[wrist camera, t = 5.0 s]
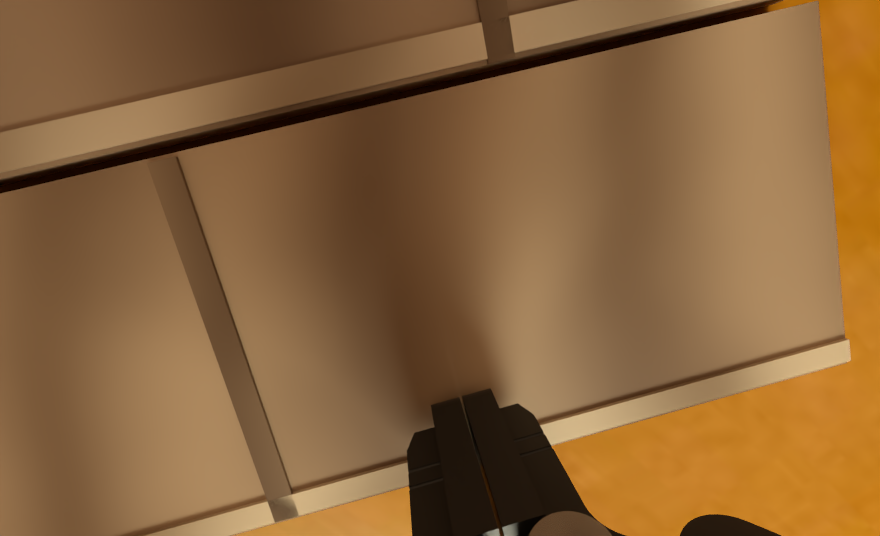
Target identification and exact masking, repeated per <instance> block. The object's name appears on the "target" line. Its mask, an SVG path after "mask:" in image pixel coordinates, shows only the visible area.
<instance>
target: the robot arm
mask: <svg viewBox="0 0 880 536" xmlns="http://www.w3.org/2000/svg"><path fill="white" fill-rule="evenodd" d="M462 400H463V404H464V408H465V412H466V416H467V420H468V424H469V427H468V424H467V421H466V417H465V414H464V410H463V407H462V404H461V400H460V397H457V398H454V399H450V400H447V401H443V402H440V403H436V404H432V405H431V410H432V416H433V422H434V427H433V428H429V429H426V430H422V431H419V432H415V433H414V435H413V437H412V440H411V442H410V444H409V447H408V449H407V463H408V472H409V474H408V477H409V488H410V491H409V492H410V507H411V522H412V536H625V535H622V534H620V533H617V532H615V531H613V530H611V529H609V528H607V527H606V526H604V525H603V524H601V523H600V522H599V521H597V520H596V519H595V518H594V517H593V516H592V515H591V514H590V513H589V511H588V510H587V508H586V507H585V505H584V504H583V502H582V500H581V498H580V496H579V495H578V493H577V491H576V489H575V487H574V486H573V484H572V482H571V480H570V478H569V477H568V475H567V473H566V471H565V469H564V468H563V466H562V464H561V462H560V460H559V459H558V457H557V455H556V453H555V451H554V450H553V449H552V447H551V444H550V443H549V441H548V439H547V437H546V435H544V432H543V430H542V428H541V426H540V425H539V423H538V421H537V419H536V417H535V416H534V414H532V413H531V412H530V411H528V410H527V409H525V408H524V407H522V406H521V405H520V404H518V403H517V404H514V405H510V406H506V407H503V408H499V406H498V404H497V401H496V399H495V397H494V395H493V392H492V390H491V389H490V388H489V389H485V390H482V391H478V392H475V393H471V394H468V395H464V396H462ZM469 428H470V431H469ZM470 432H471V434H470ZM471 436H472V438H471ZM472 439H473V441H472ZM473 443H474V444H473ZM474 447H475V448H474ZM680 536H781V535H779V534H776V533H774V532H771V531H769V530H767V529H764V528H762V527H759V526H757V525H754V524H752V523H750V522H747V521H744V520H742V519H739V518H736V517H731V516H727V515H718V514H717V515H704V516H700V517H697V518H695V519H693V520H691V521H690V522H688V523H687V524H686V526H685V527H684V528H683V530H682V532H681V534H680Z"/></svg>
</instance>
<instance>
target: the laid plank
mask: <svg viewBox="0 0 880 536" xmlns="http://www.w3.org/2000/svg"><path fill="white" fill-rule="evenodd" d="M780 1H783V0H0V186H2V185H6V184H10V183H14V182H19V181H23V180H27V179H31V178H36V177H40V176H44V175H48V174H53V173H57V172H61V171H65V170H70V169H74V168H78V167H82V166H87V165H91V164H95V163H100V162H104V161H108V160H112V159H117V158H121V157H125V156H129V155H134V154H138V153H142V152H146V151H151V150H155V149H159V148H163V147H168V146H172V145H176V144H180V143H185V142H189V141H193V140H197V139H202V138H206V137H210V136H214V135H219V134H223V133H227V132H231V131H236V130H240V129H244V128H248V127H253V126H257V125H261V124H265V123H270V122H274V121H278V120H282V119H287V118H291V117H295V116H299V115H304V114H308V113H312V112H317V111H321V110H325V109H329V108H334V107H338V106H342V105H346V104H351V103H355V102H359V101H363V100H368V99H372V98H376V97H380V96H385V95H389V94H393V93H397V92H402V91H406V90H410V89H414V88H419V87H423V86H427V85H431V84H436V83H440V82H444V81H448V80H453V79H457V78H461V77H465V76H470V75H474V74H478V73H482V72H487V71H491V70H495V69H499V68H504V67H508V66H512V65H517V64H521V63H525V62H529V61H534V60H538V59H542V58H546V57H551V56H555V55H559V54H563V53H568V52H572V51H576V50H580V49H585V48H589V47H593V46H597V45H602V44H606V43H610V42H614V41H619V40H623V39H627V38H631V37H636V36H640V35H644V34H648V33H653V32H657V31H661V30H665V29H670V28H674V27H678V26H682V25H687V24H691V23H695V22H699V21H704V20H708V19H712V18H716V17H721V16H725V15H729V14H734V13H738V12H742V11H746V10H751V9H755V8H759V7H763V6H768V5H772V4H775V3H777V2H780Z"/></svg>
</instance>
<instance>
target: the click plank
mask: <svg viewBox="0 0 880 536" xmlns="http://www.w3.org/2000/svg"><path fill="white" fill-rule="evenodd" d="M848 361H851V356H850V343H849V339H846V338H845V331H844V318H843V305H842V293H841V280H840V268H839V255H838V242H837V230H836V217H835V204H834V192H833V179H832V167H831V154H830V141H829V129H828V116H827V104H826V91H825V78H824V66H823V53H822V40H821V28H820V15H819V3H818V1H815V2H810V3H806V4H802V5H798V6H794V7H789V8H785V9H781V10H777V11H772V12H768V13H764V14H760V15H755V16H751V17H747V18H743V19H738V20H734V21H730V22H726V23H721V24H717V25H713V26H709V27H704V28H700V29H696V30H692V31H688V32H683V33H679V34H675V35H671V36H666V37H662V38H658V39H654V40H649V41H645V42H641V43H637V44H632V45H628V46H624V47H620V48H615V49H611V50H607V51H603V52H598V53H594V54H590V55H586V56H582V57H577V58H573V59H569V60H565V61H560V62H556V63H552V64H548V65H543V66H539V67H535V68H531V69H526V70H522V71H518V72H514V73H509V74H505V75H501V76H497V77H492V78H488V79H484V80H480V81H476V82H471V83H467V84H463V85H459V86H454V87H450V88H446V89H442V90H437V91H433V92H429V93H425V94H420V95H416V96H412V97H408V98H403V99H399V100H395V101H391V102H387V103H382V104H378V105H374V106H370V107H365V108H361V109H357V110H353V111H348V112H344V113H340V114H336V115H331V116H327V117H323V118H319V119H314V120H310V121H306V122H302V123H297V124H293V125H289V126H285V127H281V128H276V129H272V130H268V131H264V132H259V133H255V134H251V135H247V136H242V137H238V138H234V139H230V140H225V141H221V142H217V143H213V144H208V145H204V146H200V147H196V148H191V149H187V150H183V151H179V152H175V153H170V154H166V155H162V156H158V157H153V158H149V159H145V160H141V161H136V162H132V163H128V164H124V165H119V166H115V167H111V168H107V169H102V170H98V171H94V172H90V173H86V174H81V175H77V176H73V177H69V178H64V179H60V180H56V181H52V182H47V183H43V184H39V185H35V186H30V187H26V188H22V189H18V190H13V191H9V192H5V193H1V194H0V536H233V535H236V534H240V533H244V532H247V531H251V530H254V529H258V528H261V527H265V526H268V525H272V524H276V523H279V522H283V521H286V520H290V519H293V518H297V517H301V516H304V515H308V514H311V513H315V512H318V511H322V510H325V509H329V508H333V507H336V506H340V505H343V504H347V503H350V502H354V501H357V500H361V499H365V498H368V497H372V496H375V495H379V494H382V493H386V492H389V491H393V490H397V489H400V488H404V487H407V486H409V477H408V474H409V472H408V463H407V449H408V447H409V444H410V442H411V440H412V437H413V435H414V433H415V432H419V431H422V430H426V429H429V428H433V427H434V422H433V416H432V410H431V405H432V404H436V403H440V402H443V401H447V400H450V399H454V398H457V397H460V400H461V404H462V407H463V410H464V414H465V417H466V421H467V424H468V420H467V416H466V412H465V408H464V404H463V400H462V396H464V395H468V394H471V393H475V392H478V391H482V390H485V389H489V388H490V389H491V390H492V392H493V395H494V397H495V399H496V401H497V404H498V406H499V408H503V407H506V406H510V405H514V404H517V403H518V404H520V405H521V406H522V407H524V408H525V409H527V410H528V411H530V412H531V413H532V414H534V416H535V417H536V419H537V421H538V423H539V425H540V426H541V428H542V430H543V432H544V435H546V437H547V439H548V441H549V443H550V444H551V446H553V445H557V444H560V443H564V442H567V441H571V440H574V439H578V438H581V437H585V436H589V435H592V434H596V433H599V432H603V431H606V430H610V429H613V428H617V427H621V426H624V425H628V424H631V423H635V422H638V421H642V420H645V419H649V418H653V417H656V416H660V415H663V414H667V413H670V412H674V411H677V410H681V409H685V408H688V407H692V406H695V405H699V404H702V403H706V402H709V401H713V400H717V399H720V398H724V397H727V396H731V395H734V394H738V393H741V392H745V391H749V390H752V389H756V388H759V387H763V386H766V385H770V384H773V383H777V382H781V381H784V380H788V379H791V378H795V377H798V376H802V375H805V374H809V373H813V372H816V371H820V370H823V369H827V368H830V367H834V366H838V365H841V364H845V363H847V362H848ZM468 427H469V424H468ZM469 431H470V428H469ZM470 434H471V432H470ZM471 438H472V436H471ZM472 441H473V439H472ZM473 444H474V443H473ZM474 448H475V447H474Z"/></svg>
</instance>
